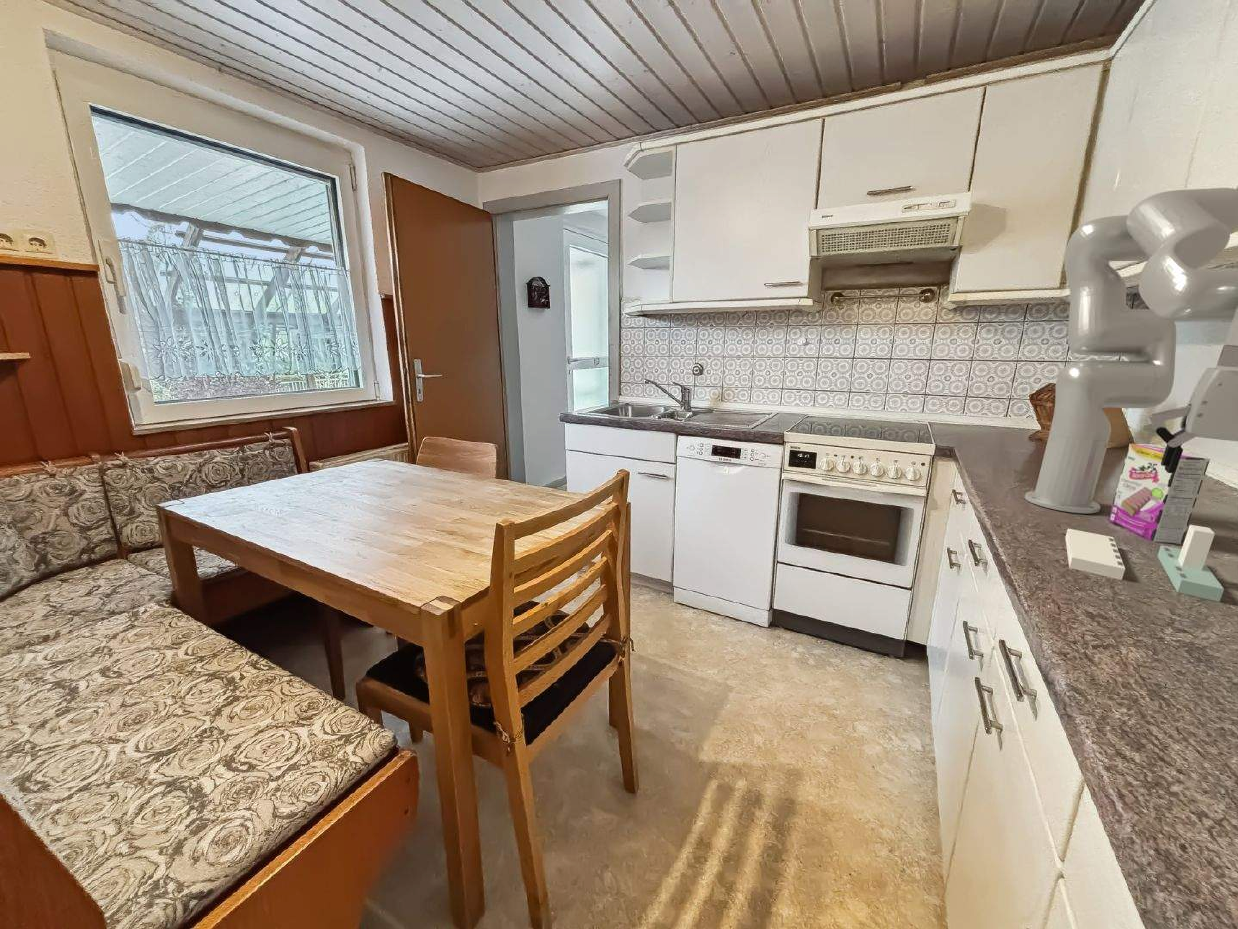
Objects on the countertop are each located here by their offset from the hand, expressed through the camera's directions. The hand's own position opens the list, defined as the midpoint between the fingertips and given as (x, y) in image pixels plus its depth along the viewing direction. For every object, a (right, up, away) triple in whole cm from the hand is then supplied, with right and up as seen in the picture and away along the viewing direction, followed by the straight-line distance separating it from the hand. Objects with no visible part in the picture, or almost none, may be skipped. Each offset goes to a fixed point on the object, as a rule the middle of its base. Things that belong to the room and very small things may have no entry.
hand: (1216, 477), depth 72 cm
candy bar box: (+12, -11, +22) cm, 27 cm away
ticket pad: (-9, -14, +10) cm, 19 cm away
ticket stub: (0, -16, +4) cm, 16 cm away
